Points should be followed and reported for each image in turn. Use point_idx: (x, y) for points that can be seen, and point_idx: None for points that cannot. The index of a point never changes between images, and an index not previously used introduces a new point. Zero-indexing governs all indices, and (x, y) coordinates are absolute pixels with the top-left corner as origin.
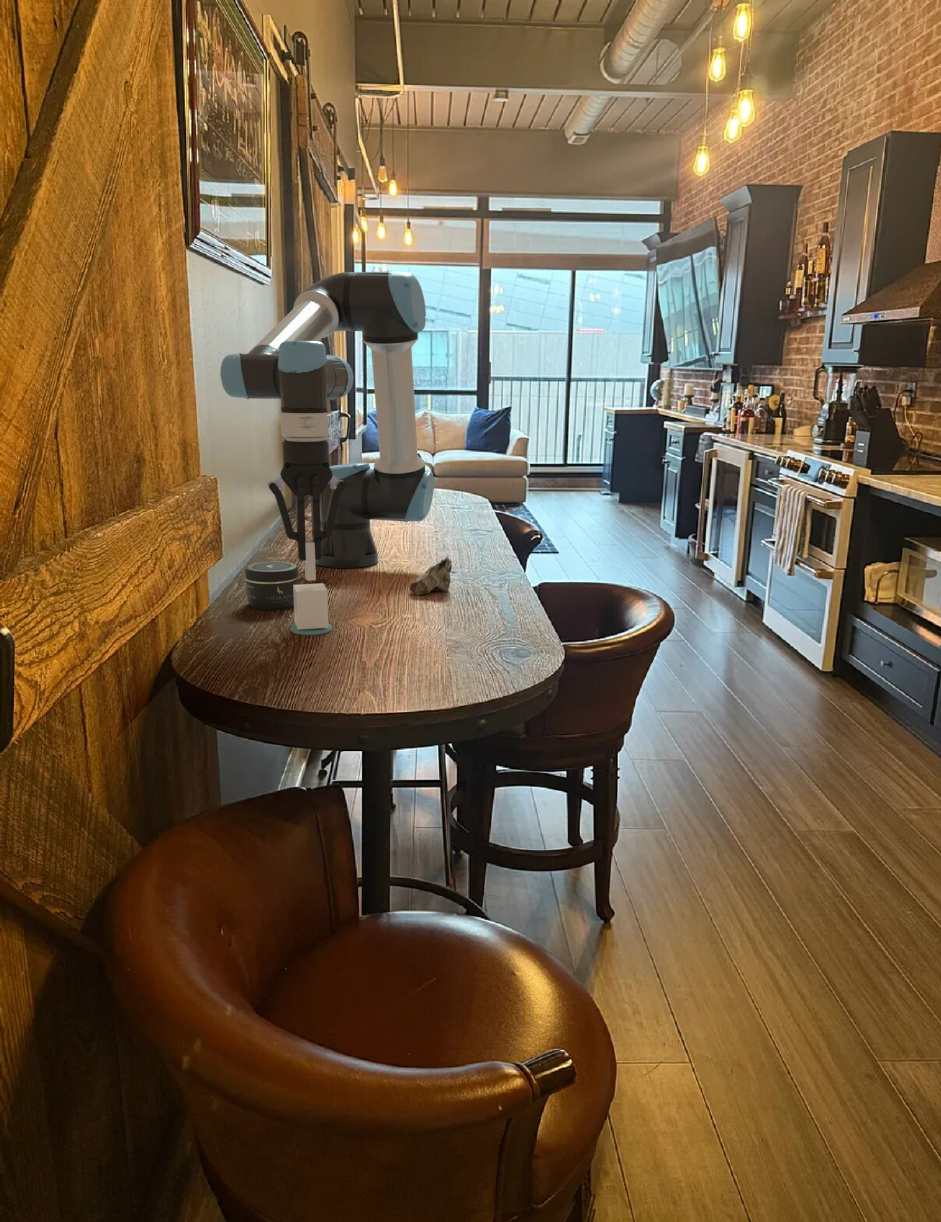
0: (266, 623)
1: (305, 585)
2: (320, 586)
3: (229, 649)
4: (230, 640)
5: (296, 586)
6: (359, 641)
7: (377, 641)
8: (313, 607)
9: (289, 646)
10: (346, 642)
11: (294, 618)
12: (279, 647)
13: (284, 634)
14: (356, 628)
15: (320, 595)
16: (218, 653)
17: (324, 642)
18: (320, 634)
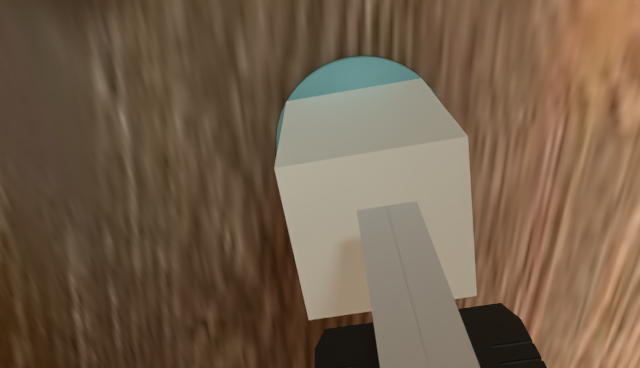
0: (150, 25)
1: (352, 186)
2: (444, 214)
3: (103, 334)
4: (73, 249)
5: (298, 207)
6: (527, 285)
7: (588, 289)
8: None
9: (291, 319)
10: (481, 292)
11: (285, 106)
12: (260, 326)
13: (257, 193)
14: (546, 131)
15: None
16: (82, 364)
17: None
18: None
